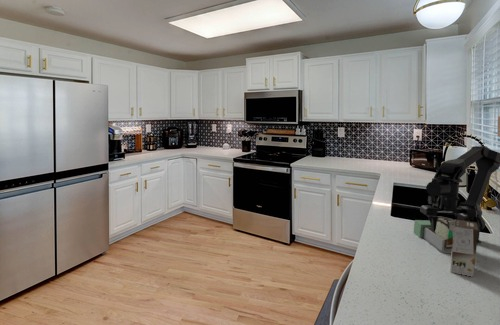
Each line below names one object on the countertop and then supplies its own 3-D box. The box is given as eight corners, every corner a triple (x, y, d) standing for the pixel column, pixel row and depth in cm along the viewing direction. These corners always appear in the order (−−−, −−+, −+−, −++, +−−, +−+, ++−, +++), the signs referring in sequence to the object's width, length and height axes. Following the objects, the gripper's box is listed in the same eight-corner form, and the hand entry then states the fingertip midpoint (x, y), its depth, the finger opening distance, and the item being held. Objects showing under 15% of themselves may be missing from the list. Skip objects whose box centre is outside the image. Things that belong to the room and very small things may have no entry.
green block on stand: (441, 233, 133) (442, 220, 132) (471, 254, 112) (473, 239, 111) (413, 232, 134) (414, 220, 133) (438, 252, 113) (439, 237, 112)
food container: (465, 251, 113) (467, 226, 112) (448, 250, 114) (450, 225, 112) (446, 238, 125) (448, 215, 124) (431, 238, 126) (433, 215, 125)
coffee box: (473, 278, 95) (479, 230, 93) (449, 272, 98) (454, 226, 96) (472, 266, 102) (477, 222, 100) (450, 261, 106) (454, 218, 104)
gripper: (461, 189, 124) (458, 225, 126) (415, 188, 125) (412, 224, 127) (479, 196, 113) (475, 235, 115) (428, 195, 114) (425, 233, 116)
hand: (445, 231), depth 119 cm, fingers open, 9 cm apart
